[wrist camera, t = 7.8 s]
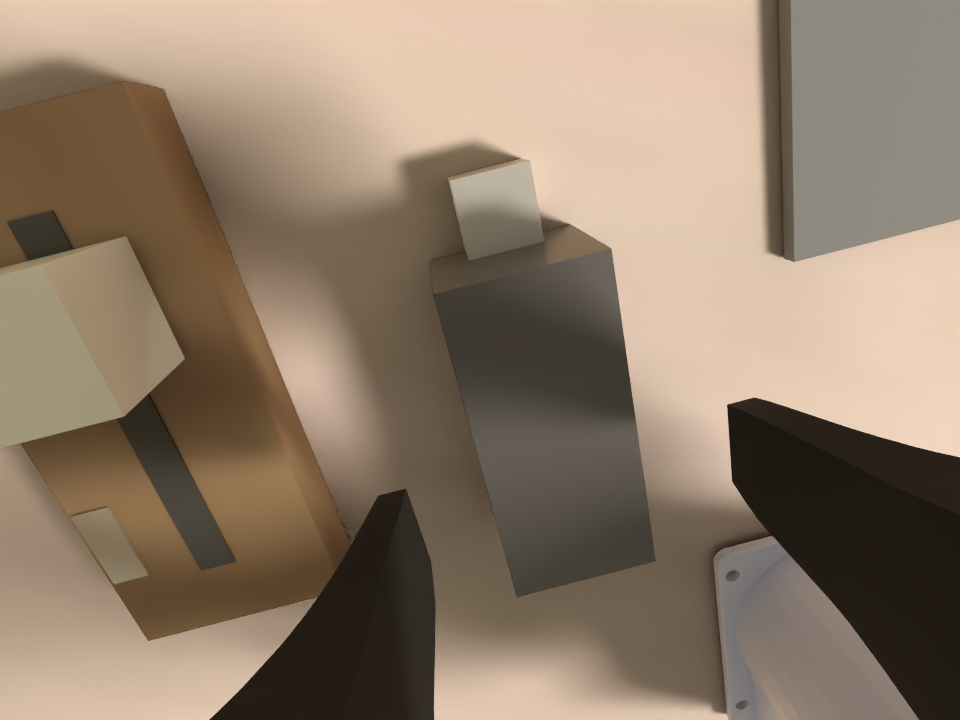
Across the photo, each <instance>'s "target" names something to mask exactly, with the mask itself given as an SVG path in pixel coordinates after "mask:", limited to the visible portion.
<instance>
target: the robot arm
mask: <svg viewBox="0 0 960 720" xmlns="http://www.w3.org/2000/svg"><path fill="white" fill-rule="evenodd" d="M727 408H728V424H729V439H730V454H731V469H732V482H733V483H734V485H735V486H736V488H737V489H738V491H739V492H740V494H741V496H742V497H743V499H744V500H745V502H746V503H747V505H748V506H749V507H750V509H751V510H752V512H753V513H754V514H755V516H756V517H757V519H758V520H759V521H760V522H761V523H762V525H763V526H764V527H765V528H766V529H767V530H768V532H769V533H770V534H771V535H772V536H769V537H765V538H762V539H758V540H754V541H750V542H746V543H742V544H739V545H735V546H731V547H727V548H724V549H722V550H720V551H719V552H718V553H717V554H716V555H715V557H714V561H713V563H714V574H715V585H716V596H717V607H718V618H719V630H720V641H721V652H722V663H723V674H724V685H725V696H726V707H727V716H728V719H729V720H960V457H956V456H951V455H946V454H942V453H937V452H933V451H929V450H925V449H921V448H917V447H913V446H909V445H906V444H902V443H899V442H895V441H891V440H888V439H884V438H881V437H877V436H874V435H871V434H867V433H864V432H861V431H857V430H854V429H851V428H848V427H845V426H842V425H839V424H836V423H833V422H830V421H827V420H824V419H821V418H818V417H815V416H812V415H809V414H806V413H803V412H800V411H797V410H794V409H791V408H788V407H785V406H782V405H779V404H775V403H772V402H769V401H765V400H762V399H758V398H751V399H747V400H744V401H740V402H736V403H732V404H728V405H727ZM730 571H731V572H730ZM728 572H729V573H728ZM434 665H435V595H434V585H433V576H432V567H431V560H430V557H429V554H428V551H427V548H426V545H425V542H424V540H423V537H422V534H421V531H420V528H419V525H418V522H417V519H416V517H415V514H414V511H413V508H412V505H411V502H410V499H409V496H408V493H407V491H406V489H403V490H399V491H395V492H391V493H387V494H383V495H380V496H378V498H377V499H376V501H375V502H374V504H373V506H372V508H371V510H370V511H369V513H368V515H367V517H366V519H365V521H364V522H363V524H362V526H361V528H360V530H359V531H358V533H357V535H356V537H355V539H354V540H353V542H352V544H351V546H350V547H349V549H348V551H347V552H346V554H345V556H344V557H343V559H342V561H341V562H340V564H339V566H338V567H337V569H336V571H335V572H334V574H333V575H332V577H331V578H330V580H329V581H328V583H327V584H326V586H325V587H324V589H323V590H322V592H321V593H320V595H319V596H318V598H317V599H316V601H315V602H314V604H313V605H312V607H311V608H310V609H309V611H308V612H307V613H306V615H305V616H304V617H303V619H302V620H301V621H300V622H299V624H298V625H297V626H296V627H295V629H294V630H293V631H292V632H291V634H290V635H289V636H288V637H287V639H286V640H285V641H284V642H283V643H282V645H281V646H280V647H279V648H278V649H277V650H276V651H275V653H274V654H273V655H272V656H271V657H270V658H269V659H268V660H267V661H266V662H265V663H264V665H263V666H262V667H261V668H260V669H259V670H258V671H257V672H256V673H255V674H254V676H253V677H252V678H251V679H250V680H249V681H248V682H247V683H246V684H245V685H244V686H243V687H242V688H241V689H240V691H239V692H238V693H237V694H236V695H235V696H233V697H232V698H231V699H230V700H229V701H228V702H227V703H226V704H225V705H224V706H223V707H222V708H221V709H220V710H219V711H218V712H217V713H216V714H215V715H214V716H213V717H212V718H211V719H210V720H434Z"/></svg>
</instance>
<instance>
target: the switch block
mask: <svg viewBox="0 0 960 720" xmlns="http://www.w3.org/2000/svg"><path fill="white" fill-rule="evenodd" d="M124 236H126V237H127V239H128V241H129V243H130V245H131V247H132V249H133V251H134V253H135V255H136V258H137V260H138V262H139V264H140V266H141V268H142V270H143V272H144V274H145V276H146V278H147V281H148V283H149V285H150V287H151V289H152V291H153V293H154V295H155V297H156V299H157V301H158V303H159V306H160V308H161V310H162V312H163V314H164V316H165V318H166V320H167V322H168V324H169V326H170V328H171V331H172V333H173V335H174V337H175V339H176V341H177V343H178V345H179V347H180V349H181V351H182V353H183V356H184V358H185V359H184V360H183V361H182V362H181V363H180V364H179V365H178V366H177V367H176V368H175V369H174V370H173V371H171V372H170V373H169V374H168V375H167V376H166V377H165V378H164V379H163V380H162V381H161V382H160V383H159V384H158V385H157V386H156V387H155V388H154V389H153V390H152V391H150V392H149V393H148V394H147V395H146V396H145V397H144V398H143V399H142V400H141V401H140V402H139V403H138V404H137V405H136V406H135V407H134V408H133V409H132V410H131V411H129V412H128V413H127V414H126V415H125V416H124V417H121V418H117V419H113V420H109V421H105V422H101V423H97V424H93V425H89V426H86V427H82V428H78V429H74V430H70V431H66V432H62V433H58V434H54V435H51V436H47V437H43V438H39V439H35V440H31V441H27V442H23V443H21V445H22V446H23V448H24V449H25V451H26V453H27V454H28V456H29V457H30V459H31V460H32V462H33V463H34V465H35V466H36V468H37V470H38V471H39V473H40V474H41V476H42V477H43V479H44V480H45V482H46V483H47V485H48V487H49V488H50V490H51V491H52V493H53V494H54V496H55V497H56V499H57V500H58V502H59V504H60V505H61V507H62V508H63V510H64V511H65V513H66V514H67V516H68V517H69V519H70V521H71V522H72V524H73V525H74V527H75V528H76V530H77V531H78V533H79V534H80V536H81V538H82V539H83V541H84V542H85V544H86V545H87V547H88V548H89V550H90V551H91V553H92V555H93V556H94V558H95V559H96V561H97V562H98V564H99V565H100V567H101V568H102V570H103V572H104V573H105V575H106V576H107V578H108V579H109V581H110V582H111V584H112V585H113V587H114V589H115V590H116V592H117V593H118V595H119V596H120V598H121V599H122V601H123V602H124V604H125V606H126V607H127V609H128V610H129V612H130V613H131V615H132V616H133V618H134V619H135V621H136V623H137V624H138V626H139V627H140V629H141V630H142V632H143V633H144V635H145V636H146V638H147V640H148V641H150V640H154V639H158V638H162V637H166V636H169V635H173V634H177V633H181V632H185V631H189V630H193V629H196V628H200V627H204V626H208V625H212V624H216V623H219V622H223V621H227V620H231V619H235V618H239V617H243V616H246V615H250V614H254V613H258V612H262V611H266V610H269V609H273V608H277V607H281V606H285V605H289V604H293V603H296V602H300V601H304V600H308V599H312V598H316V597H318V596H319V595H320V593H321V592H322V590H323V589H324V587H325V586H326V584H327V583H328V581H329V580H330V578H331V577H332V575H333V574H334V572H335V571H336V569H337V567H338V566H339V564H340V562H341V561H342V559H343V557H344V556H345V554H346V552H347V551H348V549H349V547H350V546H351V544H350V541H349V539H348V536H347V534H346V531H345V529H344V527H343V524H342V522H341V519H340V517H339V514H338V512H337V509H336V507H335V505H334V502H333V500H332V497H331V495H330V492H329V490H328V488H327V485H326V483H325V480H324V478H323V475H322V473H321V471H320V468H319V466H318V463H317V461H316V458H315V456H314V454H313V451H312V449H311V446H310V444H309V441H308V439H307V437H306V434H305V432H304V429H303V427H302V424H301V422H300V420H299V417H298V415H297V412H296V410H295V407H294V405H293V403H292V400H291V398H290V395H289V393H288V390H287V388H286V386H285V383H284V381H283V378H282V376H281V373H280V371H279V369H278V366H277V364H276V361H275V359H274V356H273V354H272V351H271V349H270V347H269V344H268V342H267V339H266V337H265V334H264V332H263V330H262V327H261V325H260V322H259V320H258V317H257V315H256V313H255V310H254V308H253V305H252V303H251V300H250V298H249V296H248V293H247V291H246V288H245V286H244V283H243V281H242V279H241V276H240V274H239V271H238V269H237V266H236V264H235V262H234V259H233V257H232V254H231V252H230V249H229V247H228V245H227V242H226V240H225V237H224V235H223V232H222V230H221V228H220V225H219V223H218V220H217V218H216V215H215V213H214V211H213V208H212V206H211V203H210V201H209V198H208V196H207V194H206V191H205V189H204V186H203V184H202V181H201V179H200V176H199V174H198V172H197V169H196V167H195V164H194V162H193V159H192V157H191V155H190V152H189V150H188V147H187V145H186V142H185V140H184V138H183V135H182V133H181V130H180V128H179V125H178V123H177V121H176V118H175V116H174V113H173V111H172V108H171V106H170V104H169V101H168V99H167V96H166V94H165V91H164V89H161V88H155V87H150V86H144V85H139V84H133V83H128V82H123V81H122V82H118V83H114V84H110V85H106V86H102V87H98V88H94V89H90V90H86V91H82V92H78V93H74V94H70V95H66V96H62V97H58V98H55V99H51V100H47V101H43V102H39V103H35V104H31V105H27V106H23V107H19V108H15V109H11V110H7V111H3V112H0V268H3V267H6V266H10V265H14V264H18V263H22V262H26V261H30V260H34V259H38V258H42V257H46V256H50V255H53V254H57V253H61V252H65V251H69V250H73V249H77V248H81V247H85V246H89V245H93V244H97V243H101V242H104V241H108V240H112V239H116V238H120V237H124Z"/></svg>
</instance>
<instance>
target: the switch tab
mask: <svg viewBox="0 0 960 720" xmlns="http://www.w3.org/2000/svg"><path fill="white" fill-rule="evenodd" d="M184 359H185V358H184V356H183V353H182V351H181V349H180V347H179V345H178V343H177V341H176V339H175V337H174V335H173V333H172V331H171V328H170V326H169V324H168V322H167V320H166V318H165V316H164V314H163V312H162V310H161V308H160V306H159V303H158V301H157V299H156V297H155V295H154V293H153V291H152V289H151V287H150V285H149V283H148V281H147V278H146V276H145V274H144V272H143V270H142V268H141V266H140V264H139V262H138V260H137V258H136V255H135V253H134V251H133V249H132V247H131V245H130V243H129V241H128V239H127V237H126V236H124V237H120V238H116V239H112V240H108V241H104V242H101V243H97V244H93V245H89V246H85V247H81V248H77V249H73V250H69V251H65V252H61V253H57V254H53V255H50V256H46V257H42V258H38V259H34V260H30V261H26V262H22V263H18V264H14V265H10V266H6V267H3V268H0V448H4V447H8V446H12V445H16V444H19V443H23V442H27V441H31V440H35V439H39V438H43V437H47V436H51V435H54V434H58V433H62V432H66V431H70V430H74V429H78V428H82V427H86V426H89V425H93V424H97V423H101V422H105V421H109V420H113V419H117V418H121V417H124V416H125V415H126V414H127V413H128V412H129V411H131V410H132V409H133V408H134V407H135V406H136V405H137V404H138V403H139V402H140V401H141V400H142V399H143V398H144V397H145V396H146V395H147V394H148V393H149V392H150V391H152V390H153V389H154V388H155V387H156V386H157V385H158V384H159V383H160V382H161V381H162V380H163V379H164V378H165V377H166V376H167V375H168V374H169V373H170V372H171V371H173V370H174V369H175V368H176V367H177V366H178V365H179V364H180V363H181V362H182V361H183V360H184Z"/></svg>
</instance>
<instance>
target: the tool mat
mask: <svg viewBox="0 0 960 720" xmlns="http://www.w3.org/2000/svg"><path fill="white" fill-rule="evenodd" d="M778 7H779V55H780V103H781V150H782V198H783V246H784V259H787V260H790V261H793V262H796V261H800V260H804V259H807V258H811V257H815V256H819V255H823V254H827V253H831V252H835V251H838V250H842V249H846V248H850V247H854V246H858V245H862V244H866V243H870V242H873V241H877V240H881V239H885V238H889V237H893V236H897V235H901V234H905V233H908V232H912V231H916V230H920V229H924V228H928V227H932V226H936V225H939V224H943V223H947V222H951V221H955V220H959V219H960V0H778Z"/></svg>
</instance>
